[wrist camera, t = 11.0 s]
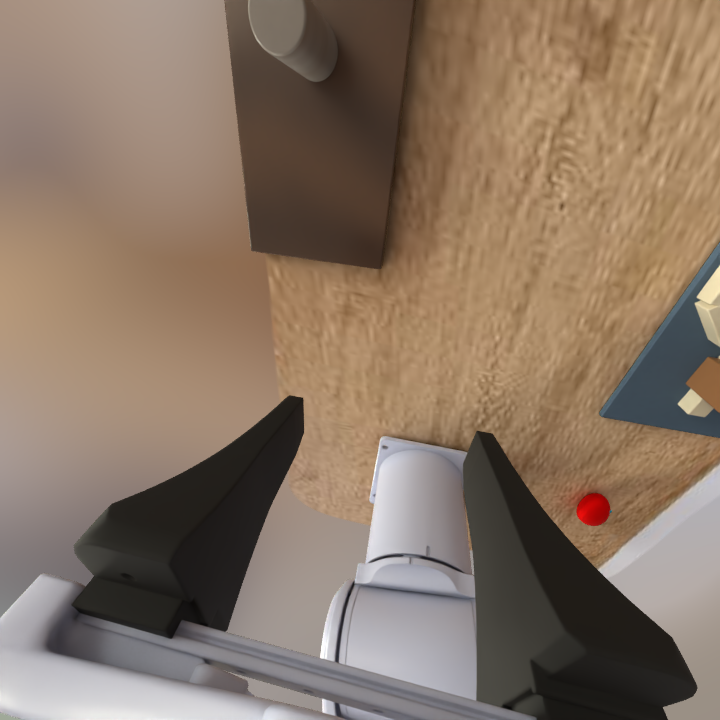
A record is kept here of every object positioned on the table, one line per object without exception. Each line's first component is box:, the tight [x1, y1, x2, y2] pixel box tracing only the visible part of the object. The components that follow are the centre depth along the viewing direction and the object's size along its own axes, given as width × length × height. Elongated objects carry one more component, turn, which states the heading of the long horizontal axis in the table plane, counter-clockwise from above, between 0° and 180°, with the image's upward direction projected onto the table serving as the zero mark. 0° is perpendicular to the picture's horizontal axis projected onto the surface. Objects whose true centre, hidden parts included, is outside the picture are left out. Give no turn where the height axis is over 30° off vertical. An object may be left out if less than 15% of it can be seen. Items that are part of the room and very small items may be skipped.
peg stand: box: [224, 0, 416, 269], centre depth 13 cm, size 14×8×5 cm, turn 175°
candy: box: [577, 493, 612, 526], centre depth 25 cm, size 3×2×2 cm, turn 176°
